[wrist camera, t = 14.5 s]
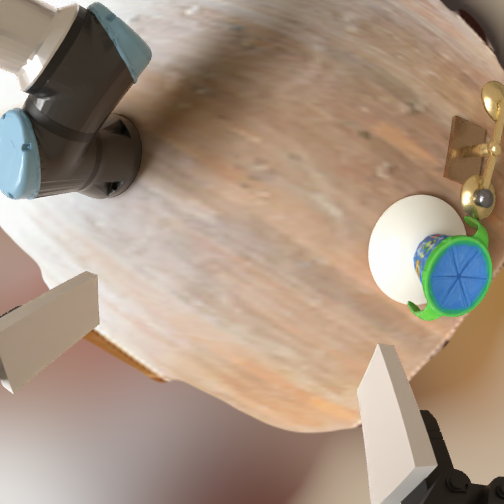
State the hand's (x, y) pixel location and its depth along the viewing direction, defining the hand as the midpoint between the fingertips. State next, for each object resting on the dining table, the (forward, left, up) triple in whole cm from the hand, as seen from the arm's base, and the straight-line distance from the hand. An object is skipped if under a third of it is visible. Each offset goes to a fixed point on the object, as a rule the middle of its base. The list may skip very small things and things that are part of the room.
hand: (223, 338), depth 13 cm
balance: (+25, +18, -34) cm, 46 cm away
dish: (+21, +1, -34) cm, 40 cm away
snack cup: (+23, +1, -33) cm, 40 cm away
